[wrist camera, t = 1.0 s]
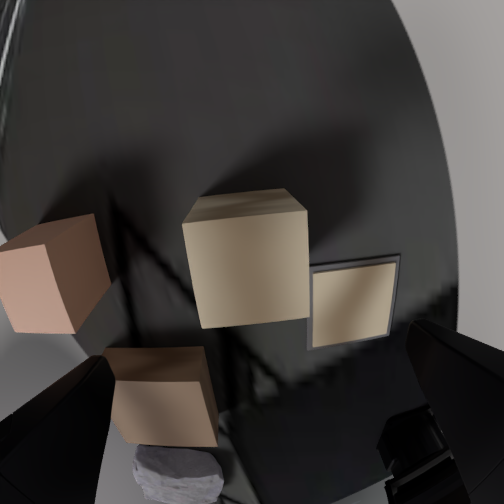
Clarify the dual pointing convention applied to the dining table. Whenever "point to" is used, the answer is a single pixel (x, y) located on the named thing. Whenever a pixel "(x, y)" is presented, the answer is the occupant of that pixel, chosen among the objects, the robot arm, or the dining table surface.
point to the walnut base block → (163, 396)
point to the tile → (351, 301)
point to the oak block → (248, 258)
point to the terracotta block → (53, 276)
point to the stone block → (177, 475)
